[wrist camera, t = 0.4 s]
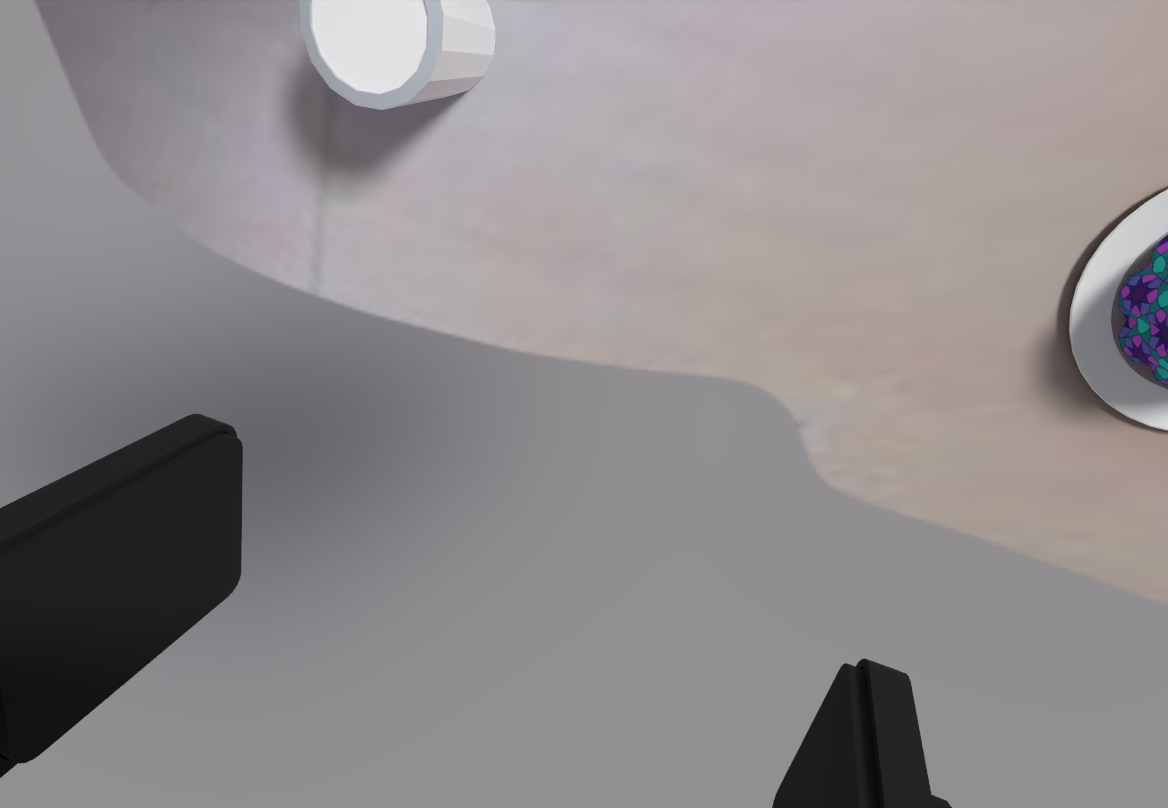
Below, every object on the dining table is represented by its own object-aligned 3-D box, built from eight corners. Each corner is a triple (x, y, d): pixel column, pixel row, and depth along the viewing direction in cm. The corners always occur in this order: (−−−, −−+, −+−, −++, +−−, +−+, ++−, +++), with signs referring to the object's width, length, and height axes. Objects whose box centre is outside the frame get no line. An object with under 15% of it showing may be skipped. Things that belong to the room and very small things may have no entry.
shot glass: (393, 112, 38) (313, 114, 32) (373, -37, 36) (281, -66, 29) (513, 105, 36) (452, 105, 30) (500, -53, 34) (431, -88, 28)
